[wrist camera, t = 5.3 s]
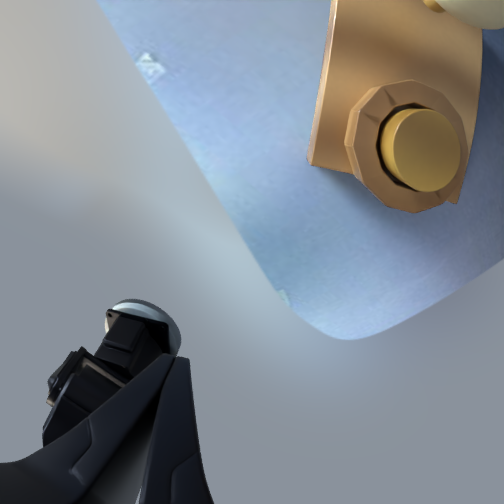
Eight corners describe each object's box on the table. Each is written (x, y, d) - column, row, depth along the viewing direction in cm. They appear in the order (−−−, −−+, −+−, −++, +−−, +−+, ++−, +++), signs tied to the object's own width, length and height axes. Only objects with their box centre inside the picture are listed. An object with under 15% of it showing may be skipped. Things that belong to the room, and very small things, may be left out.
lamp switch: (434, 191, 13) (450, 201, 12) (372, 173, 13) (383, 181, 12) (450, 123, 12) (468, 126, 10) (387, 98, 12) (400, 97, 10)
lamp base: (437, 207, 17) (466, 229, 14) (303, 174, 17) (310, 190, 14) (465, 21, 10) (496, 11, 7) (335, -33, 11) (347, -61, 7)
